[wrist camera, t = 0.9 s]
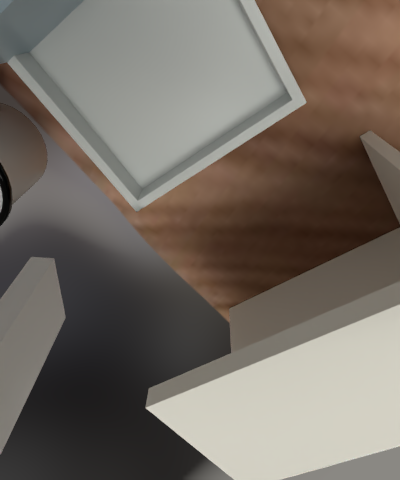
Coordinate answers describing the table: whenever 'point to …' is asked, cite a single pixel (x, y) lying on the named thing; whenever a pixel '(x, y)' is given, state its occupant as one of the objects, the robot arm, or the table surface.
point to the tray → (150, 81)
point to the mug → (18, 157)
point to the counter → (303, 364)
